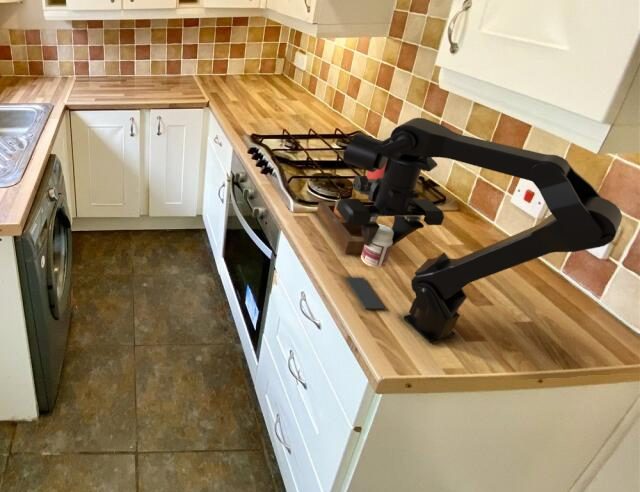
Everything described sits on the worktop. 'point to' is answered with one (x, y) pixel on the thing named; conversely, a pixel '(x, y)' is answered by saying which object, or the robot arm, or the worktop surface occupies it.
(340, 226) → the pod stand
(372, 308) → the slate mat
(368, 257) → the pill bottle
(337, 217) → the orange brown jar
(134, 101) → the worktop surface
